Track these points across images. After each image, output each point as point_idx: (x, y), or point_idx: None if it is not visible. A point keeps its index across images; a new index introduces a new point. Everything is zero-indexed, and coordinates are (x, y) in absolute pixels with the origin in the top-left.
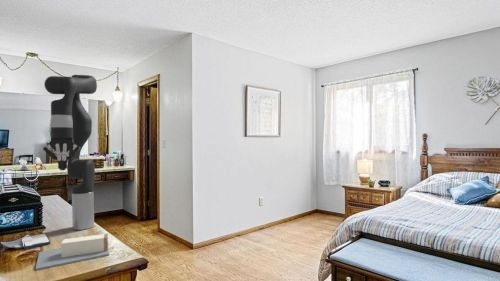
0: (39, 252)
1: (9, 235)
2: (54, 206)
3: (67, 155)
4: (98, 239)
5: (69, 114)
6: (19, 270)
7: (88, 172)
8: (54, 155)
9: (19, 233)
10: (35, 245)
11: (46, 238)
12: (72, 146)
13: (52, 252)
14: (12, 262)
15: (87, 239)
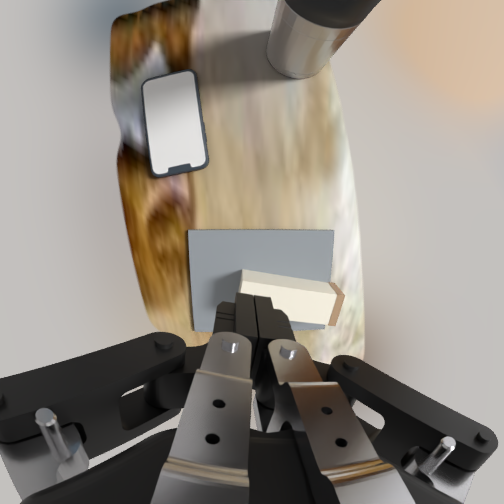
0: (189, 235)
1: (119, 36)
2: None
3: (321, 381)
4: (316, 322)
5: None
6: (167, 312)
7: None
8: (147, 376)
9: (139, 27)
10: (175, 173)
11: (198, 126)
12: (421, 493)
13: (217, 253)
14: (144, 258)
15: (294, 316)
